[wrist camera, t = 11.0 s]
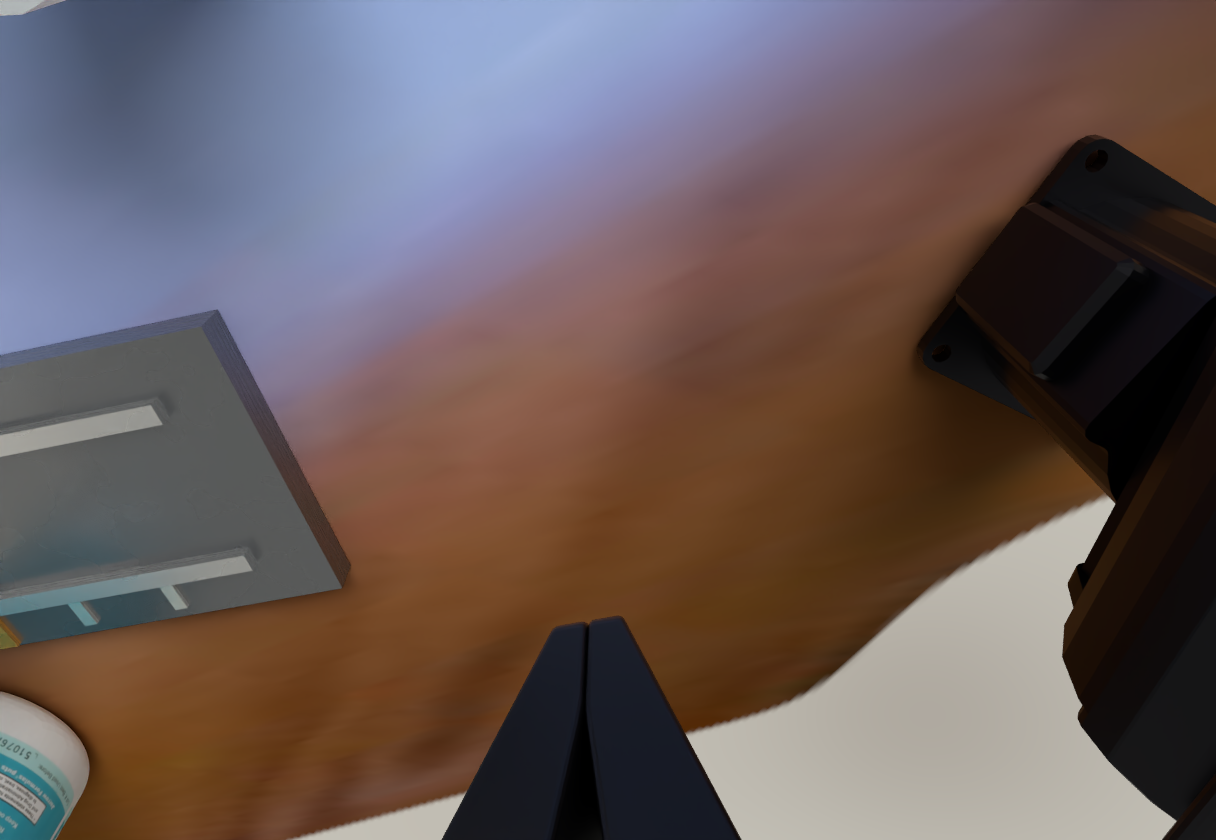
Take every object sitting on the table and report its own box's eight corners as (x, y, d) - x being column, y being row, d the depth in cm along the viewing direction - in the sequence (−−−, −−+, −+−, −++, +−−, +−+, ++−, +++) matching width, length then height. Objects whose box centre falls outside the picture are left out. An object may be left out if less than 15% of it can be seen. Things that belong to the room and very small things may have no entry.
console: (217, 309, 20) (194, 333, 18) (350, 565, 24) (338, 597, 23) (-269, 412, 21) (-321, 440, 19) (-51, 637, 25) (-82, 671, 24)
